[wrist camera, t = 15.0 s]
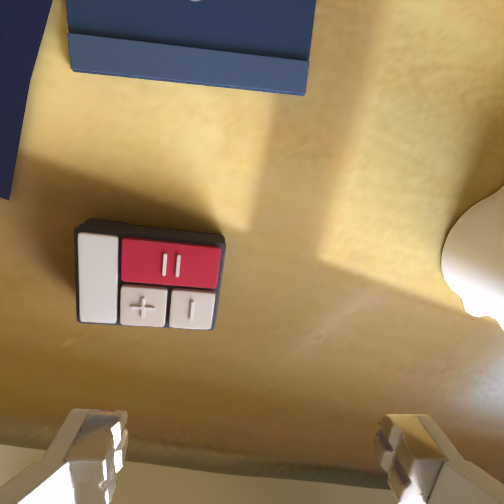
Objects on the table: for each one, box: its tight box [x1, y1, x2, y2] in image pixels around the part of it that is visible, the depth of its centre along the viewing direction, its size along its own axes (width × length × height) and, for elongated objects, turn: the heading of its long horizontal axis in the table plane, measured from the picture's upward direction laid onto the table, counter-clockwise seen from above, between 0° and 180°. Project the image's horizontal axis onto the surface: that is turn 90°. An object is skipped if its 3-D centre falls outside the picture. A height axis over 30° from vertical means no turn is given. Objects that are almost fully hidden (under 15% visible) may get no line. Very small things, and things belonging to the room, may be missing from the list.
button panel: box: [74, 219, 226, 330], centre depth 34 cm, size 11×4×15 cm
